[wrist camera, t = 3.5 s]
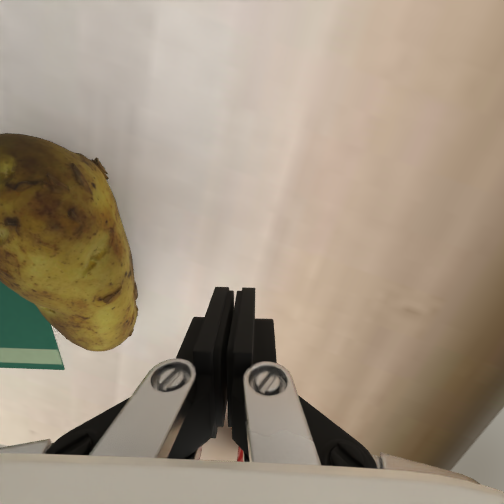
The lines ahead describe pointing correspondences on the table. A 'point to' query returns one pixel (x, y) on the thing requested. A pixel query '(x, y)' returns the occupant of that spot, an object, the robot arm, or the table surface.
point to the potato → (65, 242)
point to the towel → (25, 335)
